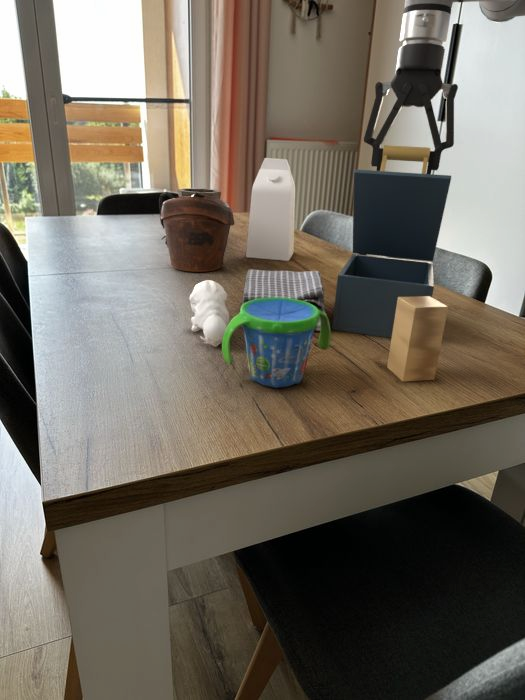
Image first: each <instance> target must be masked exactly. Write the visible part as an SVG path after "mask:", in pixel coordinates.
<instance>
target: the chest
mask: <svg viewBox="0 0 525 700" xmlns="http://www.w3.org/2000/svg"><path fill="white" fill-rule="evenodd" d="M433 262H434V261H425V260H415V259H406V258H396V257H387V256H377V255H368V254H358V253H352V254H351V255H350V257H349V258H348V260H347V261H346V263H345V264H344V266H343V267H342V269H341V270H340V271H339V273H338V275H337V279H336V289H335V298H334V307H333V317H332V325H331V326H332V327H331V330H333V331H340V332H347V333H353V334H361V335H368V336H375V337H381V338H382V337H383V338H389V339H392V332H393V326H394V319H395V313H396V306H397V300H398V297H418V296H430V297H431V298H433V293H434V289H435V281H434V279H435V278H434V264H433Z"/></svg>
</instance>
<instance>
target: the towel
mask: <svg viewBox="0 0 525 700" xmlns="http://www.w3.org/2000/svg"><path fill="white" fill-rule="evenodd" d="M244 282H245V283H244V290H243V295H242V298H243V299H242V301H241V306H242V305H243V304H244V303H246V302H248V301H251V300H255V299H260V298H273V297H274V298H275V297H276V298H290V299H296V300H301V301H304V302H308V303H310V304H312V305H314V306H315V307H317V308H318V310H320V311H321V312H323V313H324V314H325V315H326V316H327V317H328V314H327V313H326V309H325V294H326V292H325V290H324V286H323V285H324V284H323V280H322V276H321V272H320V271H318V270H317V271H316V270H311V271H309V270H306V271H291V270H284V269H283V270H266V269H264V270H263V269H254V268H253V269H248V270H247V272H246V276H245V281H244ZM320 326H321V317H320V316H319V322H318V324H317V326H316V327H315V329H314V332H320Z"/></svg>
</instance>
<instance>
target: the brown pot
mask: <svg viewBox="0 0 525 700" xmlns="http://www.w3.org/2000/svg"><path fill="white" fill-rule="evenodd" d="M159 219H160V220H162V219H164V220H163V224H164V228H165V229H164V228H163V229H164V233H165V235H164V236H163V237H162V238H161V239H160V240H161V241H162V240H164V239H165V241H164V242H165V245H166V246H167V250H168V254H169V259H170V264H171V266H172V268H174V269H175V270H179V271H183V272H195V273H199V272H200V273H203V272H204V273H205V272H213V271H217V270H219V269H221V268H223V266H224V258H225V253H226V248H227V244H228V240H229V235H230V229H231V227H232V226H235V219H234V212H233V210H232V209H231V206H230V205H229V204H228V203H227V202H226V201H224V200H222V199H221V198H220V199H218V198H215V197H211V196H207V195H201V194H199V193H196V194H194V195H192V196H184V197H179V196H178V197H175V198H173V199H171V198H170V199H167V200H164V201H162V208H161V216H160V215H159Z"/></svg>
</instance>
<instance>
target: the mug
mask: <svg viewBox="0 0 525 700" xmlns="http://www.w3.org/2000/svg"><path fill="white" fill-rule="evenodd" d="M177 192H178V194H177V195H178V197H184V196H192V195H194V194H196V193H199V194H201V195H207V196H211V197H215V198H218V199H220V200H221V195H222V191H221V190H218V189H211V188H194V187H193V188H192V187H190V188H178V189H177ZM166 196H167V197H169V198H170V199H173V198H176V197H175V196H174V195H173V194H172V193H170V192H168V191H165V192H163V193H161V194H159V198H158V208H159V217H160V216H161V208H162V205H163V199H164V197H166ZM163 220H164V219H162V220H160V224H161V227H162V229H164V230H165V228H164V224H163Z"/></svg>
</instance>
